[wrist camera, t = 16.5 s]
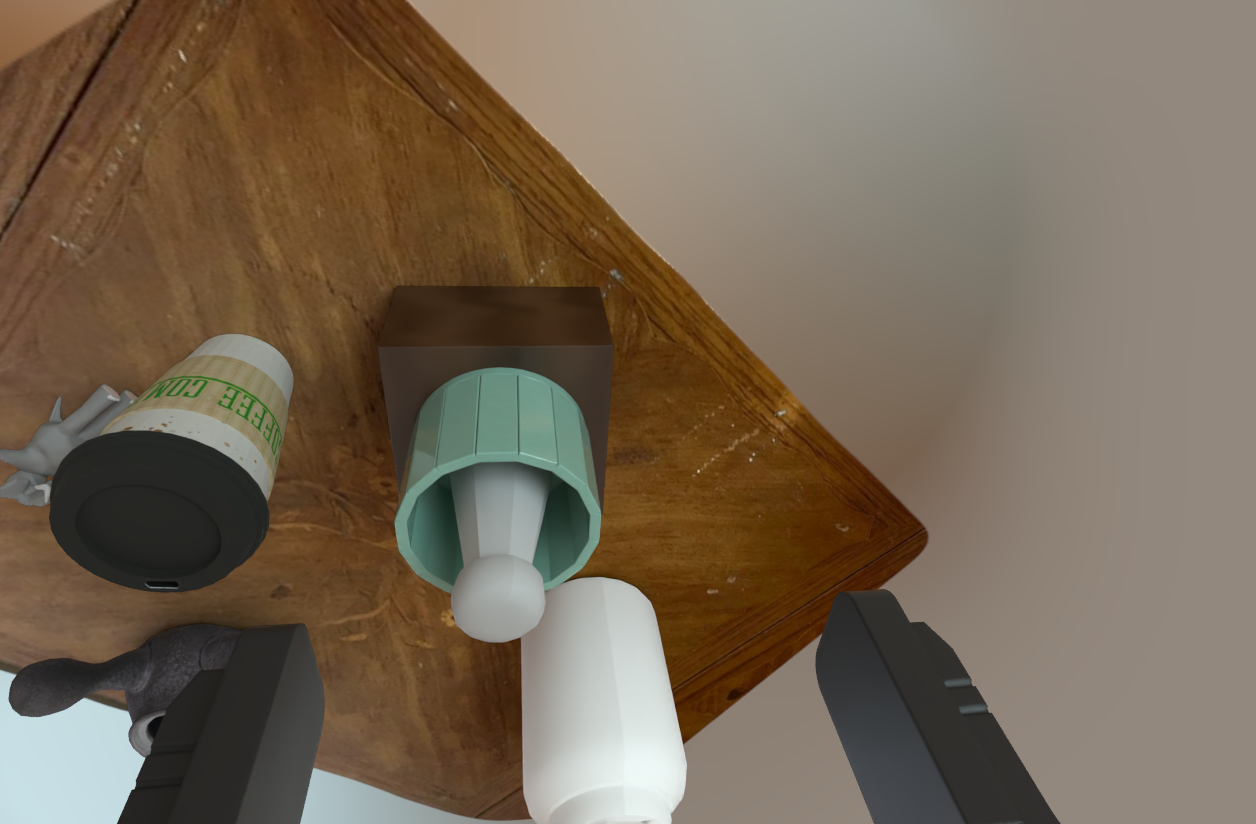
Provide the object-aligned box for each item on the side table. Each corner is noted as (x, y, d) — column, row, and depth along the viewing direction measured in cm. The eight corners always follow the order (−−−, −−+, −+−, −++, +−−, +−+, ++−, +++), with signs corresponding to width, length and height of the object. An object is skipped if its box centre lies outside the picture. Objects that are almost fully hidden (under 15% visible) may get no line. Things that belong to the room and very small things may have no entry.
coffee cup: (319, 316, 45) (249, 461, 33) (325, 439, 51) (267, 603, 38) (147, 299, 43) (5, 447, 31) (173, 429, 48) (60, 599, 36)
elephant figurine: (202, 439, 49) (101, 530, 49) (159, 382, 51) (61, 468, 50) (77, 403, 40) (-51, 515, 39) (29, 333, 41) (-95, 440, 41)
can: (612, 672, 71) (643, 896, 55) (497, 644, 66) (493, 881, 50) (679, 593, 65) (735, 816, 49) (558, 557, 61) (576, 790, 44)
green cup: (422, 507, 45) (407, 606, 39) (404, 367, 39) (383, 455, 33) (584, 500, 47) (596, 594, 40) (590, 365, 41) (605, 449, 34)
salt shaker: (568, 457, 43) (586, 630, 33) (490, 498, 44) (483, 678, 34) (515, 391, 40) (517, 558, 30) (432, 436, 41) (405, 614, 31)
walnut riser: (416, 448, 52) (403, 523, 46) (396, 285, 45) (377, 347, 38) (591, 443, 54) (602, 514, 48) (599, 287, 47) (613, 345, 40)
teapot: (340, 629, 62) (315, 735, 54) (250, 717, 67) (214, 826, 59) (113, 536, 53) (41, 647, 45) (29, 645, 58) (-50, 763, 50)
